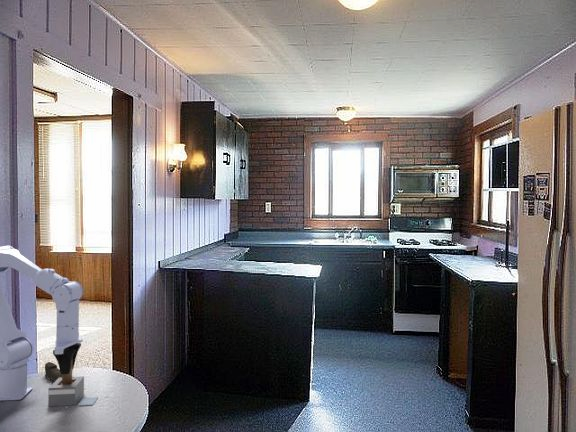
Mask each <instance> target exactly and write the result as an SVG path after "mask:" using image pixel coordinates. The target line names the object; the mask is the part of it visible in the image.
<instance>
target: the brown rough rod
mask: <svg viewBox="0 0 576 432" xmlns="http://www.w3.org/2000/svg"><path fill="white" fill-rule="evenodd" d="M44 374H45V376H46V378H47V379H48V380H52V381H53V382H55V381H56V380H57V379H58V378H62V374H61V372H60V369H59V367H58V365H57V364H55V363H53V362H50V361H47V362H45V364H44Z"/></svg>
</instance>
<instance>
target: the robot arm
mask: <svg viewBox="0 0 576 432" xmlns="http://www.w3.org/2000/svg"><path fill="white" fill-rule="evenodd" d="M10 268H12V269H13V270H15V271H18V272H19V273H22V274H23V275H25V276H27V277H29V278H30V279H33V284H34V286H36V287H38V288H39V289H41V290H42V291H44V292H45V293H46V294H48V295H50V296H51V297H52V301H53V302H54V304H55V309H56V332H55V333H56V339H55V346H54V349H53V351H52V354H53V356H54V358H55V359H56V361H57V364H58V365H57V366H58V369H59V370H60V372H61V374H69V373H70V369H71V362H72V371H73V370H74V367H75V364H76V363H75V362H76V359H77V355H78V352H79V350H80V348H81V346H82V342H83V341H84V338H80V333H79V331H80V328H79V326H80V323H79V322H80V319H79V317H80V300H81V299H82V297H83V295H84V288H83V286H82V284H81V283H80V282H79V281H77V280H72V281H70V280H69V278H67V277H63V276H61V275H60V274H58V273H56V269H53V268H41V267H39V266H38V265H37V264H35V263H34V262H33V261H31V260H29V259H28V258H27V257H26V256H24V255H23V254H21V253H20V250H18V249H16V248H14V247H13V246H11V245H8V244H7V245H2V246H0V279H1V278H2V277H3V275H4V274H5V273H6V272H7V271H8V270H9V269H10ZM9 305H10V304H9V302H8V299H7V297H6V294H5V292H4V289H3V286H2V282H0V401H1V402H2V401H16V400H18V401H19V400H20V401H21V400H22V399H23V398H25V397H26V395H28V394H29V393H31V391H32V390H33V387H28V362H29V361H30V360H29V358H31V356H32V355H33V353H34V345H33V342H32V341H31V340H30V339H29V338H28V336H27V334H26V332H24V331H23V330H20V329H19V328H17V324H16V322H15V319H14V316H13V313H12V310H11V308H10V306H9ZM72 358H73V361H72Z"/></svg>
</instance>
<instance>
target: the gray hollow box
mask: <svg viewBox="0 0 576 432" xmlns="http://www.w3.org/2000/svg"><path fill="white" fill-rule="evenodd" d="M72 382H73V384H72V385H61V384H62V378H58V379H57V380H56V381H53V383H52V384H51V385H50V386H49V387H48V395H47V396H48V397H47V398H48V399H47V403H48V407H58V406H76V405H77V403H78V402H79V400H80V399H82V396H83V395H84V394H85V376H72Z"/></svg>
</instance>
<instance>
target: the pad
mask: <svg viewBox="0 0 576 432" xmlns="http://www.w3.org/2000/svg"><path fill="white" fill-rule="evenodd" d="M98 399H99V397H98V396H95V397H94V396H93V397H92V396H91V397H90V396H89V397H82V398H81V400H80V402H79V403H78V404H77V407H86V406H87V407H88V406H89V407H90V406H94V405H95V403H96V401H97V400H98Z"/></svg>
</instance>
